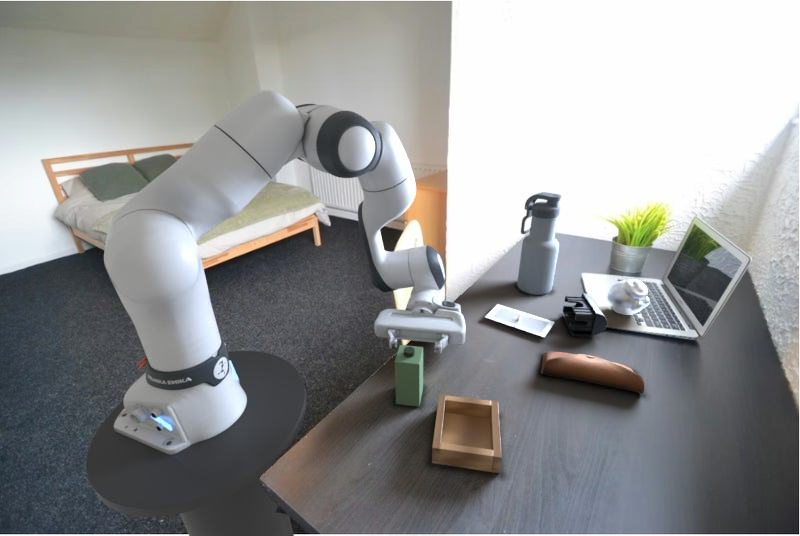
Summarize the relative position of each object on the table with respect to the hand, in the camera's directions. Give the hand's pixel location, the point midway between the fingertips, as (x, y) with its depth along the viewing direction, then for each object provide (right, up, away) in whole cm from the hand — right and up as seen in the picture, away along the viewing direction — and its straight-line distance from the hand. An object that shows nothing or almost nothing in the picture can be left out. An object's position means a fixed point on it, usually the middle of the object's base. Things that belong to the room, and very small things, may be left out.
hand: (415, 348), depth 77 cm
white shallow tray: (+27, +2, +17) cm, 32 cm away
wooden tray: (+8, -12, -14) cm, 20 cm away
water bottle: (+36, +11, +34) cm, 51 cm away
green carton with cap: (-1, -8, -5) cm, 9 cm away
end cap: (+42, +2, +15) cm, 44 cm away
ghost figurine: (+55, +5, +20) cm, 59 cm away
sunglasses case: (+35, -5, 0) cm, 36 cm away
